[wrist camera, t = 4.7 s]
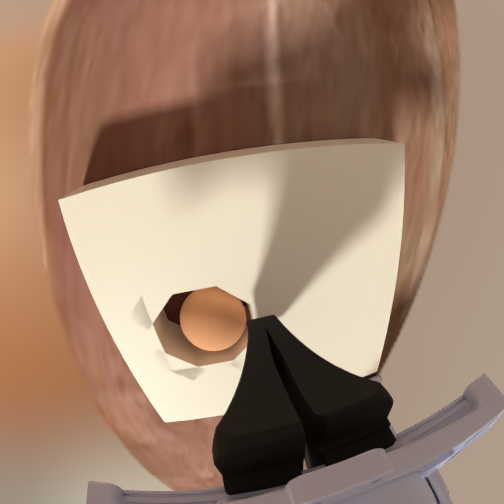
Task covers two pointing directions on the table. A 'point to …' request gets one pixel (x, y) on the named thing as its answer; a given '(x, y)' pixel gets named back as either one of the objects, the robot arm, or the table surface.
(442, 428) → the robot arm
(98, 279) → the hole board
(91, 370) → the table surface
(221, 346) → the ball
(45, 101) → the table surface
